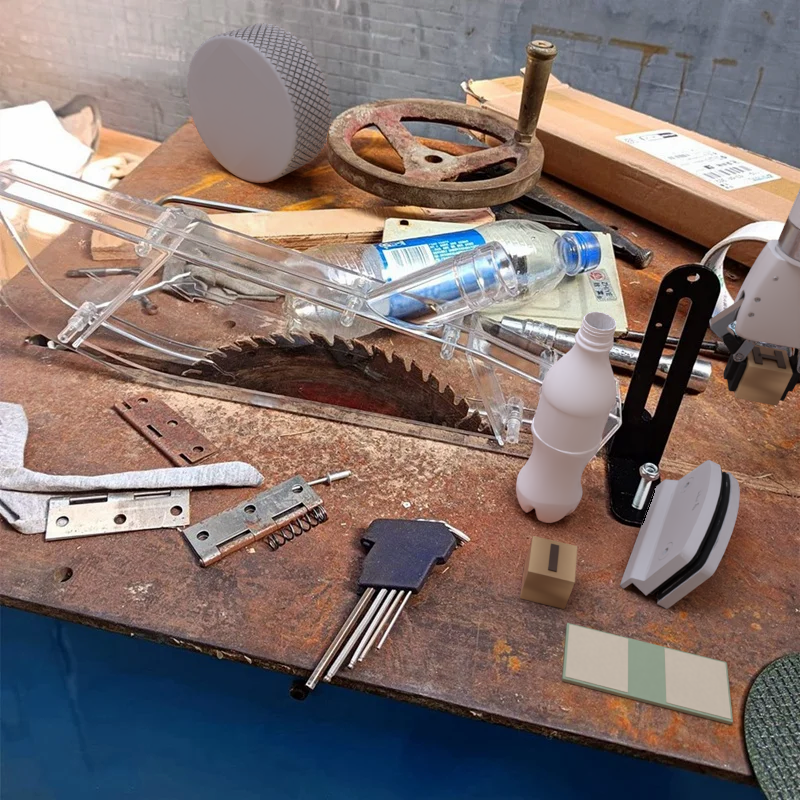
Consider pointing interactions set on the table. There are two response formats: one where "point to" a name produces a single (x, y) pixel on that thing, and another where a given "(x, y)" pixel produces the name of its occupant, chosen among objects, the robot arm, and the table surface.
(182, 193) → the table surface
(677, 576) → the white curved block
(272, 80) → the knob
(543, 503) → the water bottle
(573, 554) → the tile
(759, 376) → the tile
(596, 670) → the word board
